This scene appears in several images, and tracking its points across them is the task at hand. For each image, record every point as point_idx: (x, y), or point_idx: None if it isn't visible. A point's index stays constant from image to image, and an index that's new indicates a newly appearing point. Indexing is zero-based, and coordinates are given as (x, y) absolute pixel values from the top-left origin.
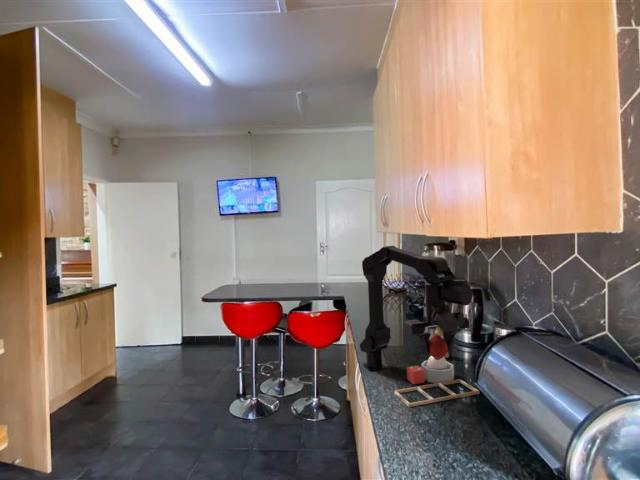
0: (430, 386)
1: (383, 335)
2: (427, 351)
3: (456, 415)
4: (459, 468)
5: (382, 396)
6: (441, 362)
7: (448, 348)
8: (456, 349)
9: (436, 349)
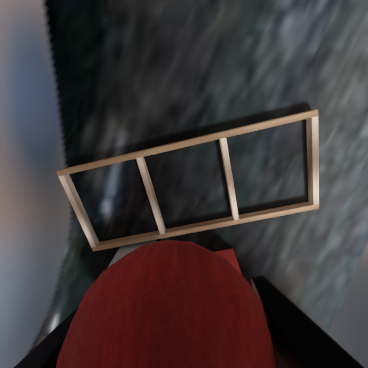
0: (192, 225)
1: None
2: (284, 296)
3: (182, 28)
4: None
5: (357, 190)
6: None
7: (69, 325)
8: None
9: (216, 286)
